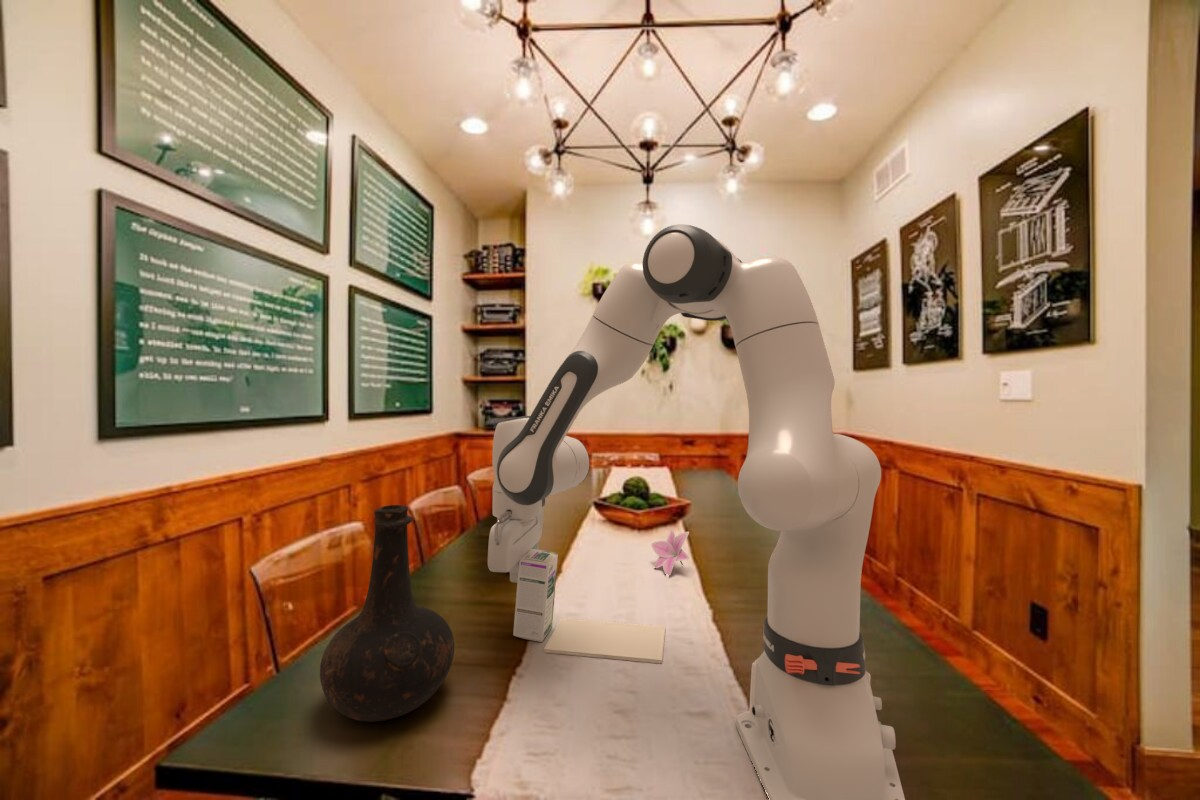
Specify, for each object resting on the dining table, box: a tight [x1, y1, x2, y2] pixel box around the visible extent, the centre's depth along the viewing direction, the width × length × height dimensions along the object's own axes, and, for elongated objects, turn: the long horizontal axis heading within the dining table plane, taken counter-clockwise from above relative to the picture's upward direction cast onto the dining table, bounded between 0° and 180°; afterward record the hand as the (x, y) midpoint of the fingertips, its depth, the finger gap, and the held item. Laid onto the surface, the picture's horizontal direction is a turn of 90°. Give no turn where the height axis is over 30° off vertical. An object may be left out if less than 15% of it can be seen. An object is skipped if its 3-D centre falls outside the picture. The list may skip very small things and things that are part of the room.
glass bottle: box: [319, 504, 456, 723], centre depth 74 cm, size 18×18×28 cm
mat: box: [543, 617, 666, 665], centre depth 92 cm, size 12×20×1 cm, turn 80°
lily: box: [650, 528, 690, 576], centre depth 128 cm, size 12×12×10 cm
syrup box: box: [512, 549, 559, 643], centre depth 94 cm, size 6×6×14 cm
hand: (517, 579), depth 94 cm, fingers closed
